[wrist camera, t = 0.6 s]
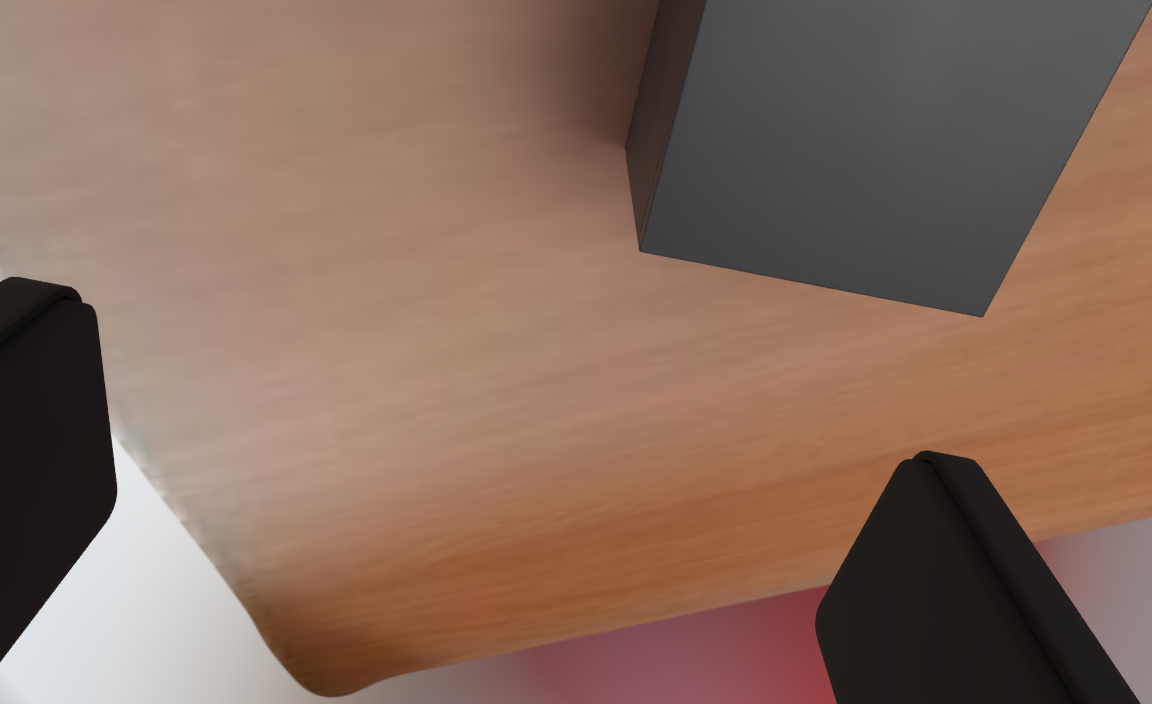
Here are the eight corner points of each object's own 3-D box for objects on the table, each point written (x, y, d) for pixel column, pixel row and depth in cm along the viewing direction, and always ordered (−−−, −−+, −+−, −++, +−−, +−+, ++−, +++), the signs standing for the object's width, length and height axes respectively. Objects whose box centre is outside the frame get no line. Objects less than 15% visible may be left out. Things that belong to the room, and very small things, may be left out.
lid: (807, -410, 18) (880, -508, 13) (1283, -278, 19) (1497, -328, 14) (637, 242, 26) (647, 315, 22) (973, 307, 27) (1048, 389, 23)
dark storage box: (725, -279, 28) (795, -364, 18) (1041, -196, 29) (1261, -237, 19) (624, 149, 36) (637, 242, 26) (875, 200, 37) (972, 307, 27)
